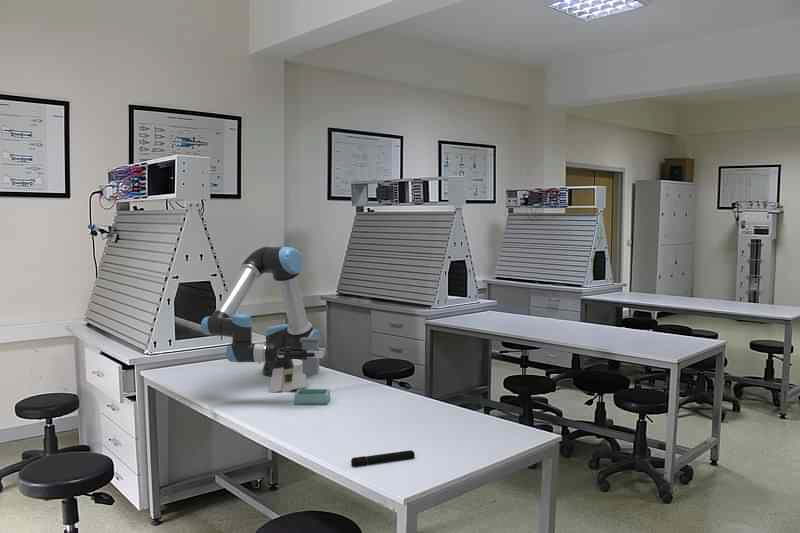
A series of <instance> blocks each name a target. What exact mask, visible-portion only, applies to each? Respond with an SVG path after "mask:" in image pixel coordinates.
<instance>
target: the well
mask: <svg viewBox="0 0 800 533" xmlns="http://www.w3.org/2000/svg"><path fill="white" fill-rule="evenodd" d="M293 397H294V400H293V401H294V406H328V404H329V402H330V399H331V389H330V388H298V389H297V390H296V392H295V394H294V396H293Z"/></svg>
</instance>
